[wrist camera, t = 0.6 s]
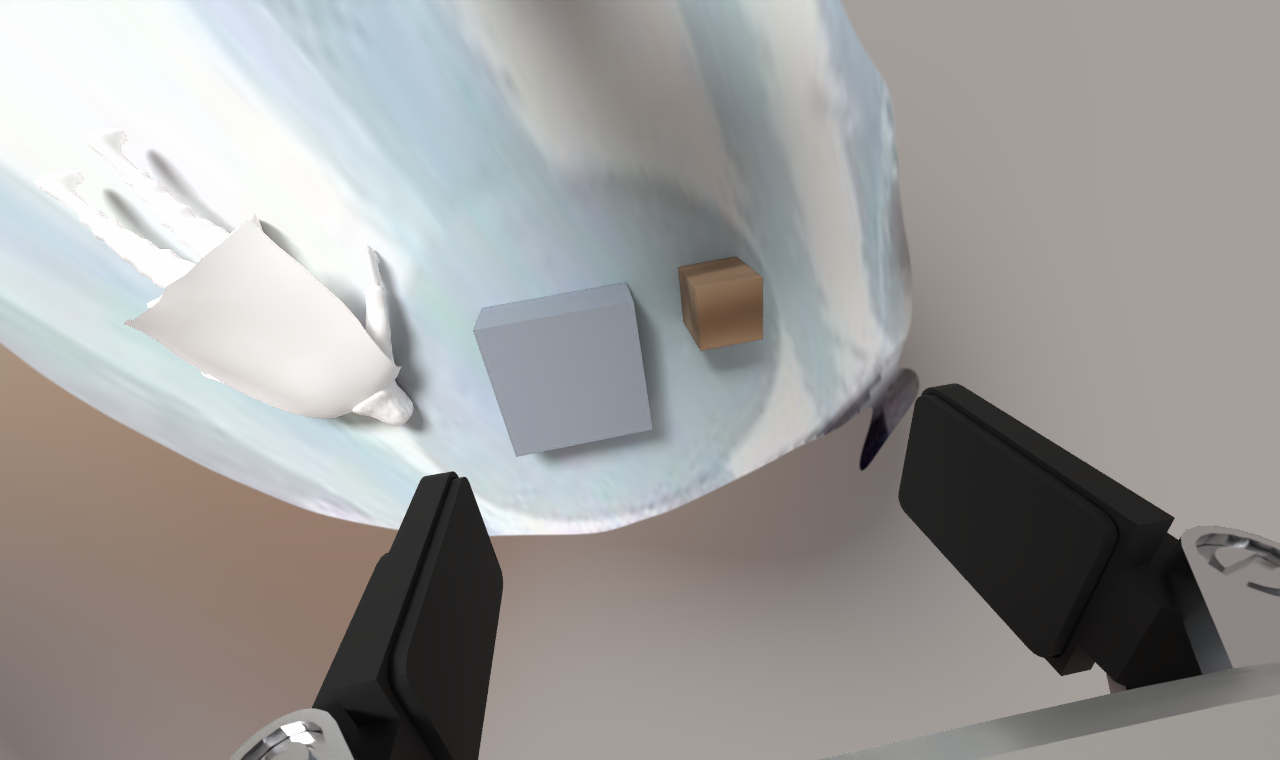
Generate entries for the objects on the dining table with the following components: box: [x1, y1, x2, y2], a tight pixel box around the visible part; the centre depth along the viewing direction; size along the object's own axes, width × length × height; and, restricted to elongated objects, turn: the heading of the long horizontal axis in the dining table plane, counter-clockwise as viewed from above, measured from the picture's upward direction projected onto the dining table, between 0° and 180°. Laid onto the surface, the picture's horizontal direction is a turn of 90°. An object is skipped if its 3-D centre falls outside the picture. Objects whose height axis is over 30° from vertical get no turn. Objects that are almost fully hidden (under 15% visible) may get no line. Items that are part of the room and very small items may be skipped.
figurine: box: [34, 128, 414, 426], centre depth 33 cm, size 17×9×25 cm
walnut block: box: [678, 257, 763, 351], centre depth 38 cm, size 5×5×6 cm
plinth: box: [473, 282, 653, 457], centre depth 40 cm, size 12×12×5 cm
